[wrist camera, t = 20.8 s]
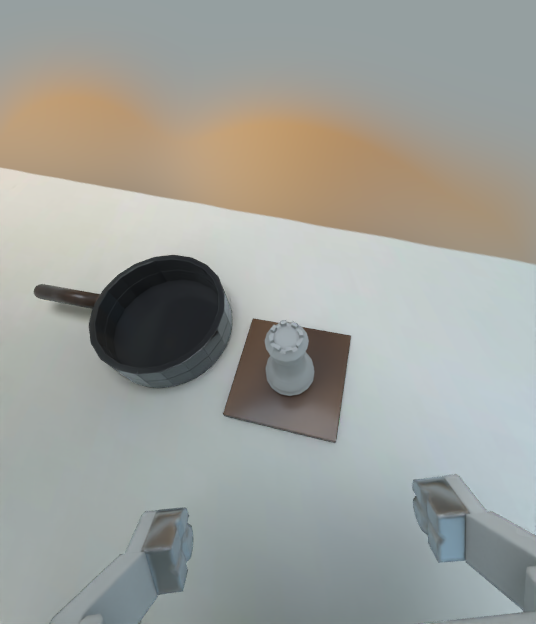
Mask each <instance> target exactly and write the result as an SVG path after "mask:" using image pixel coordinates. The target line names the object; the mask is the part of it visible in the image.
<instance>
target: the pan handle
mask: <svg viewBox="0 0 536 624" xmlns="http://www.w3.org/2000/svg"><path fill="white" fill-rule="evenodd" d="M34 294H35V296H36V297H38V298H40V299H44V300H49V301H55V302H60V303H65V304H70V305H76V306H81V307H86V308H92V309H93V307H94V304H95V303H96V301H97V299H98V298H99V296H100V294H95V293H90V292H84V291H78V290H73V289H67V288H62V287H56V286H50V285H45V284H40V285H38V286H36V287H35V289H34Z"/></svg>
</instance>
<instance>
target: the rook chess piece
mask: <svg viewBox="0 0 536 624" xmlns="http://www.w3.org/2000/svg"><path fill="white" fill-rule="evenodd" d="M308 342H309V340H308V336H307V333H306V332H305V330H304V329H303V328H302V327H301V326H299V325H298V324H297V323H295V322H294V321H292V322H286V320H283V321H280V323H278V324H276V325H273V326H272V328H271V329H270V330H269V331H268V333H267V334H266V338H265V346H266V350H267V351H268V352H269V354H270V355H271V356H270V357H269V358H268V361H267V365H266V376H267V381H268V383H269V384H270V386H271V387H272V389H274V390H275V391H277V392H278V393H280V394H283V395H288V396H292V395H298V394H300V393H302V392H304V391H305V390H307V389H308V388H309V386H310V385H311V383H312V382H313V378H314V366H313V362H312V359H311V358H310V357H309V355H308V354H307V353H306V350H307V347H308Z"/></svg>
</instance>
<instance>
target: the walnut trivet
mask: <svg viewBox="0 0 536 624" xmlns="http://www.w3.org/2000/svg"><path fill="white" fill-rule="evenodd" d="M276 324H278V323H276V322H270V321H265V320H259V319H253V320H252V323H251V326H250V329H249V333H248V336H247V339H246V342H245V345H244V349H243V352H242V355H241V358H240V361H239V365H238V368H237V371H236V374H235V377H234V381H233V384H232V387H231V390H230V393H229V397H228V400H227V403H226V406H225V409H224V413H223V415H224V416H228V417H232V418H236V419H240V420H244V421H248V422H252V423H256V424H260V425H264V426H268V427H272V428H276V429H281V430H285V431H289V432H293V433H297V434H301V435H305V436H309V437H313V438H317V439H321V440H325V441H329V442H333V443H335V442H336V438H337V431H338V424H339V417H340V409H341V402H342V395H343V388H344V381H345V374H346V367H347V360H348V353H349V346H350V339H351V336H349V335H344V334H338V333H332V332H327V331H321V330H315V329H310V328H304V327H302V328H303V329H304V330H305V332H306V333H307V336H308V340H309V342H308V347H307V350H306V353H307V354H308V355H309V357H310V358H311V359H312V362H313V366H314V378H313V382H312V383H311V385H310V386H309V388H308V389H307V390H305V391H304V392H302V393H300V394H298V395H292V396H288V395H283V394H280V393H278V392H277V391H275V390H274V389H272V387H271V386H270V384H269V383H268V381H267V376H266V365H267V361H268V358H269V357H270V356H271V355H270V354H269V352H268V351H267V350H266V346H265V338H266V334H267V333H268V331H269V330H270V329H271V328H272V326H273V325H276Z"/></svg>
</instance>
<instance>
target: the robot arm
mask: <svg viewBox="0 0 536 624" xmlns="http://www.w3.org/2000/svg"><path fill="white" fill-rule="evenodd" d="M412 489H413V491H414V493H415V495H416V496H415V498H414V499H413V508H414V512H415V516H416V519H417V522H418V524H419V526H420V528H421V530H422V531H423V532H424V533H426V534H427V535H428V544H429V546H430V548H431V550H432V551H433V553H434V555H435V557H436V559H437V561H438V563H440V562H453V561H465V560H466V563H467V564H469V565H470V566H471V567H472V568H473V569H475V570H476V571H477V572H478V573H479V574H480V575H482V576H483V577H484V578H485V579H486V580H488V581H489V582H490V583H491V584H492V585H494V586H495V587H496V588H497V589H498V590H499V591H501V592H502V593H503V594H504V595H505V596H507V597H508V598H509V599H510V600H511V601H513V602H514V603H515V604H516V605H517V606H518V607H520V608H521V609H522V610H523V612H522V613H513V614H503V615H494V616H484V617H475V618H466V619H456V620H447V621H437V622H428V623H418V624H536V535H534V534H532V533H530V532H528V531H527V530H525V529H523V528H521V527H519V526H518V525H516V524H514V523H512V522H510V521H509V520H507V519H505V518H503V517H501V516H500V515H498V514H496V513H494V512H492V511H490V512H487V510H486V509H485V508H484V507H483V505H482V504H481V503H480V502H479V500H478V499H477V498H476V497H475V495H474V494H473V493H472V492H471V490H470V489H469V488H468V487H467V485H466V484H465V483H464V481H463V480H462V479H461V478H460V476H458V475H457V474H454V475H446V476H442V477H441V476H440V477H432V478H424V479H416V480H413V483H412ZM188 518H189V514H188V510H187V508H185V507H184V508H173V509H162V510H155V511H145V512H144V513H143V514H142V515H141V518H140V520H139V522H138V524H137V527H136V529H135V531H134V533H133V536H132V538H131V540H130V542H129V545H128V547H127V549H126V551H125V554H120V555H119V556H118V557H117V558H116V559H115V560H114V561H113V562H112V563H111V564H110V565H108V566H107V567H106V568H105V569H104V570H103V571H102V572H101V573H100V574H99V575H98V576H97V577H96V578H95V579H94V580H93V581H91V582H90V583H89V584H88V585H87V586H86V587H85V588H84V589H83V590H82V591H81V592H80V593H79V594H78V595H77V596H76V597H74V598H73V599H72V600H71V601H70V602H69V603H68V604H67V605H66V606H65V607H64V608H63V609H62V610H61V611H60V612H58V613H57V614H56V615H55V616H54V617H53V619H52V620H51V622H50V624H138V623H139V622H140V621H141V619H142V618H143V616H144V615H145V614H146V612H147V611H148V609H149V608H150V607H151V605H152V604H153V602H154V601H155V600H156V598H157V597H158V596H157V595H160V594H167V593H174V592H181V591H183V589H184V585H185V581H186V577H187V572H188V569H187V564H186V563H187V561H188V560H189V559H190V558H191V555H192V550H193V530H192V526H191V525H190V524H189V523H187V522H188Z"/></svg>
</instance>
